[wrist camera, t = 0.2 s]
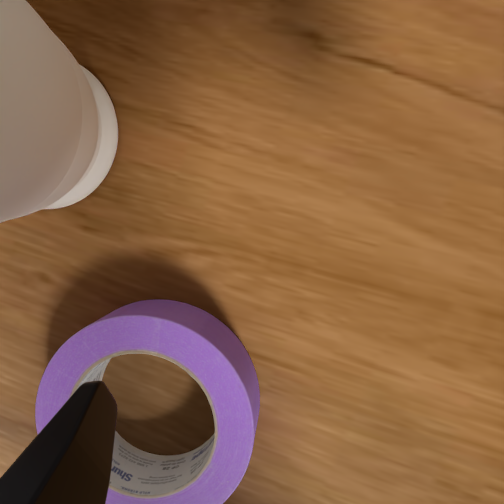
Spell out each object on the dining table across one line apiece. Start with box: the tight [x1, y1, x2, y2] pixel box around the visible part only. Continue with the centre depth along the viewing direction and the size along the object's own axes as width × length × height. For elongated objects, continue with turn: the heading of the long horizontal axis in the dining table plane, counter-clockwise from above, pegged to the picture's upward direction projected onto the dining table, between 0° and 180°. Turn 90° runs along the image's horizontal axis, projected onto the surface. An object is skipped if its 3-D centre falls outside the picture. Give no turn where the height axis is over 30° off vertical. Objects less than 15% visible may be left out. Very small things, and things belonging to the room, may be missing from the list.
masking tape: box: [35, 299, 260, 504], centre depth 23 cm, size 12×12×4 cm
